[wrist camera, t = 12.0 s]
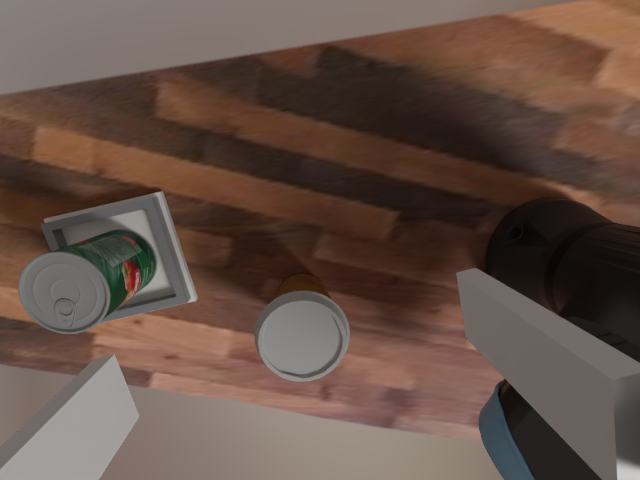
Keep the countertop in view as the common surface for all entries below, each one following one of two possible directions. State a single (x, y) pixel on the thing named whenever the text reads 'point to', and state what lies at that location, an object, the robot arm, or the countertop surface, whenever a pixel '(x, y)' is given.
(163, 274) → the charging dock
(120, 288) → the canned tomato
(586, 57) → the countertop surface
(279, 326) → the disposable coffee cup
